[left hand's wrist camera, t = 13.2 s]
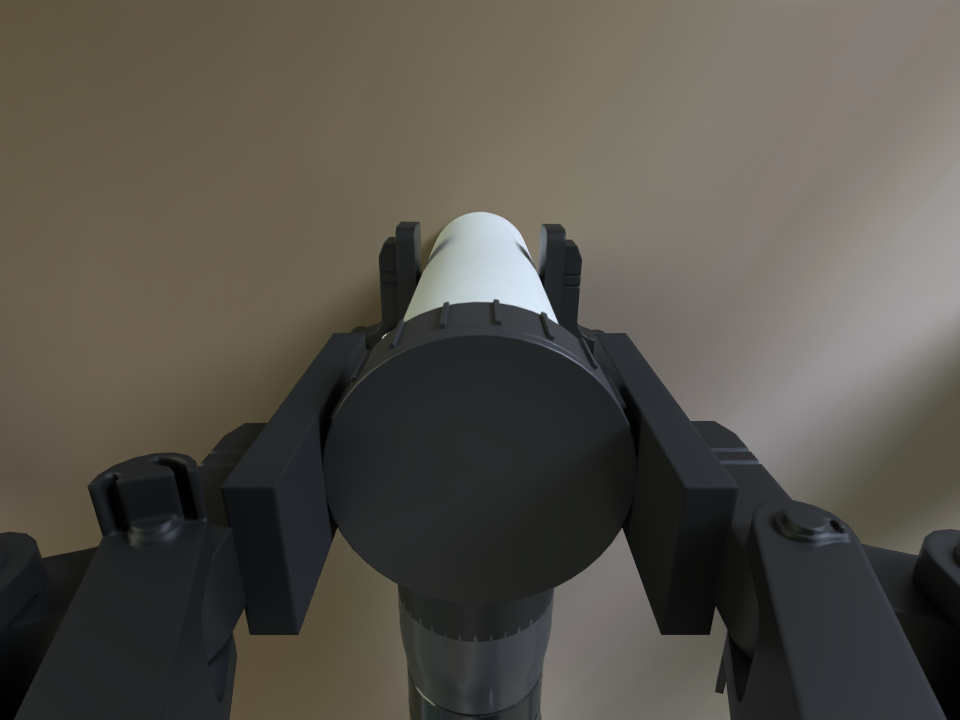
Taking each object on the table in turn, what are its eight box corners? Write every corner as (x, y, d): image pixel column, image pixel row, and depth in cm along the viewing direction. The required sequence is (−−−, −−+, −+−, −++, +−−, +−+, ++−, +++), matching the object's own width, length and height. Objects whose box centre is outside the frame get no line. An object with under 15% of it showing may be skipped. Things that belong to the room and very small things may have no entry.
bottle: (413, 245, 28) (300, 433, 10) (496, 192, 27) (526, 300, 9) (465, 323, 30) (442, 604, 12) (545, 276, 29) (650, 504, 11)
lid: (284, 389, 12) (248, 436, 10) (530, 239, 11) (541, 260, 9) (439, 578, 14) (433, 647, 12) (663, 467, 12) (695, 525, 11)
